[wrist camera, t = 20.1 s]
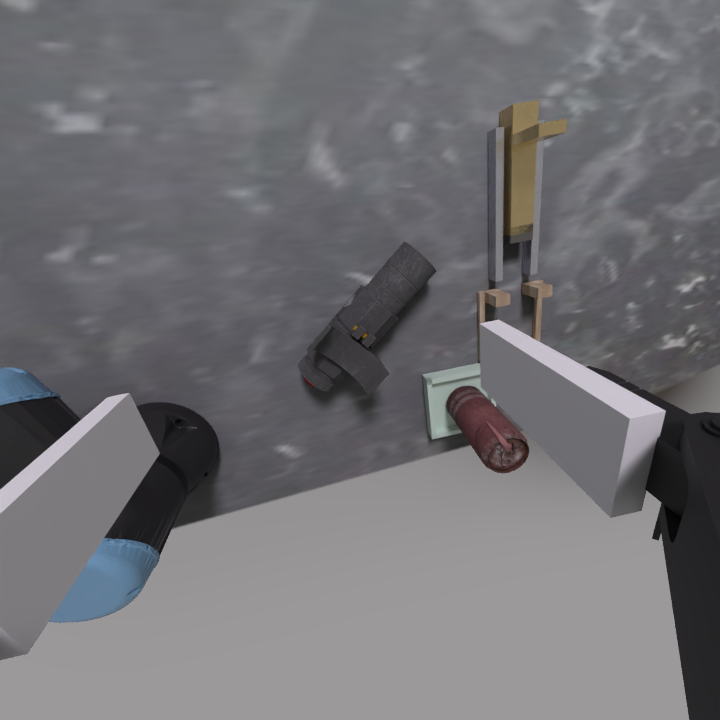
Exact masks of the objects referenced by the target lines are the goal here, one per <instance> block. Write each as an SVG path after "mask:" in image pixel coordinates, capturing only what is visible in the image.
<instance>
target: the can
mask: <svg viewBox="0 0 720 720" xmlns="http://www.w3.org/2000/svg"><path fill="white" fill-rule="evenodd" d="M446 408H447V411H448V413H449V414H450V416H451V417H452V419H453V420H454V421H455V423H456V424H457V426H458V427H459V429H460V430H461V432H462V433H463V434H464V436H465V437H466V439H467V440H468V442H469V443H470V445H471V446H472V447H473V449H474V450H475V452H476V453H477V455H478V456H479V458H480V459H481V460H482V462H483V463H484V464H485V466H486V467H488V468H490V469H491V470H493V471H495V472H498V473H508V472H511V471H514V470H516V469H517V468H519V467H520V466H522V464H523V463H524V462H525V461H526V459H527V457H528V454H529V447H528V444H527V440H526V438H525V437H524V436H523V434H522V433H521V432H520V431H519V430H518V429H517V428H516V427H515V426H514V425H513V424H512V423H511V422H510V421H509V420H508V419H507V418H506V417H505V416H504V415H503V414H502V413H501V412H500V411H499V410H498V409H497V408H496V407H495V405H494V404H493V403H492V402H491V401H490V400H489V399H488V398H487V397H486V396H485V395H484V394H483V393H482V392H481V391H480V390H479V389H478V388H476V387H474V386H461V387H459V388H456V389H455V390H454V391H452V393H451V394H450V395H449V397H448V400H447V404H446Z"/></svg>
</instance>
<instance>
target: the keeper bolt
mask: <svg viewBox="0 0 720 720" xmlns="http://www.w3.org/2000/svg"><path fill="white" fill-rule="evenodd" d="M538 106H539V100H536V101H530V102H524V103H518V104H513V105H511V106H509V107H508V108H506V109H504V110H502V111H501V112H500V127H504V192H503V243H508V244H512V243H518V242H523V241H528V240H533V221H534V198H535V175H536V152H537V142H540V141H542V140H545V139H548V138H551V137H554V136H557V135H560V134H563V133H566V129H567V119H561V120H555V121H549V122H543V123H539V124H538Z"/></svg>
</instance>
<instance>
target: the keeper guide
mask: <svg viewBox="0 0 720 720" xmlns="http://www.w3.org/2000/svg"><path fill="white" fill-rule="evenodd" d="M543 122H545V120H540V121H538V124H539V123H543ZM543 147H544V140H542V141H540V142H537V152H536V175H535V198H534V221H533V240H528V241H523V260H522V273H524V274H528V275H533V274H537V266H538V246H539V226H540V207H541V187H542V167H543ZM503 192H504V127H499V128H495V129H493V130H491V131H489V132H488V233H489V280H492V281H495V282H497V281H502V280H503Z"/></svg>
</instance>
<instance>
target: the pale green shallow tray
mask: <svg viewBox="0 0 720 720" xmlns="http://www.w3.org/2000/svg"><path fill="white" fill-rule="evenodd" d="M422 376H423V386H424V396H425V407H426V417H427V427H428V433H429V435H430V436H431V438H432V439H436V438H441V437H445V436H450V435H455V434H459V433H462V432H461V430H460V429H459V427H458V426H457V424H456V423H455V421H454V420H453V419H452V417H451V416H450V414H449V413H448V411H447V408H446V404H447V400H448V397H449V395H450V394H451V393H452V391H454V390H455V389H456V388H459V387H461V386H474V387H476V388H478V389H479V390H480V391H481V392H482V393H483V394H484V395H485V396H486V397H487V398H488V399H489V400H490V401H491V402H492V403H493V404H494V405H495V407H496V402H495V401H494V400H493V399H492V398H491V397H490V396H489V395H488V394H487V393H486V392H485V391H484V390H483V389H482V388H481V380H480V363H477V364H472V365H467V366H462V367H457V368H452V369H447V370H443V371H438V372H433V373H428V374H423V375H422Z"/></svg>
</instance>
